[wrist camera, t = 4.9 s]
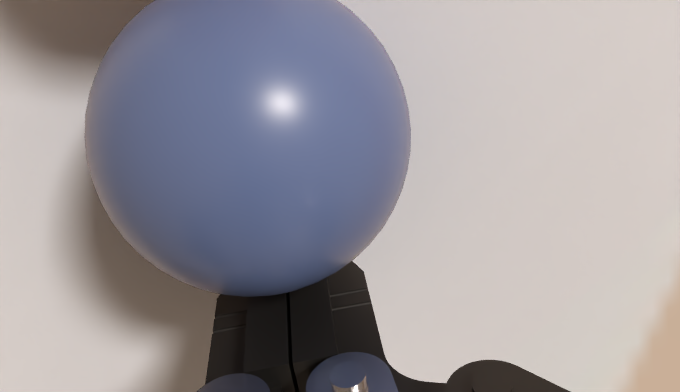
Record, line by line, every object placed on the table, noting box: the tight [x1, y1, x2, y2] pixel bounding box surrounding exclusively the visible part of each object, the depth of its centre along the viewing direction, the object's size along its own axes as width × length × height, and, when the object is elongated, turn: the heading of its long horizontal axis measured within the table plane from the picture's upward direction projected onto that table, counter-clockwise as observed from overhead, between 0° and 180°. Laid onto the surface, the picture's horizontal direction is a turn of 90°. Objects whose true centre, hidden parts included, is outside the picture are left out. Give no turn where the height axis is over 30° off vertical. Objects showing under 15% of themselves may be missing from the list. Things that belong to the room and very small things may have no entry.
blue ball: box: [85, 0, 411, 297], centre depth 9 cm, size 5×5×5 cm
